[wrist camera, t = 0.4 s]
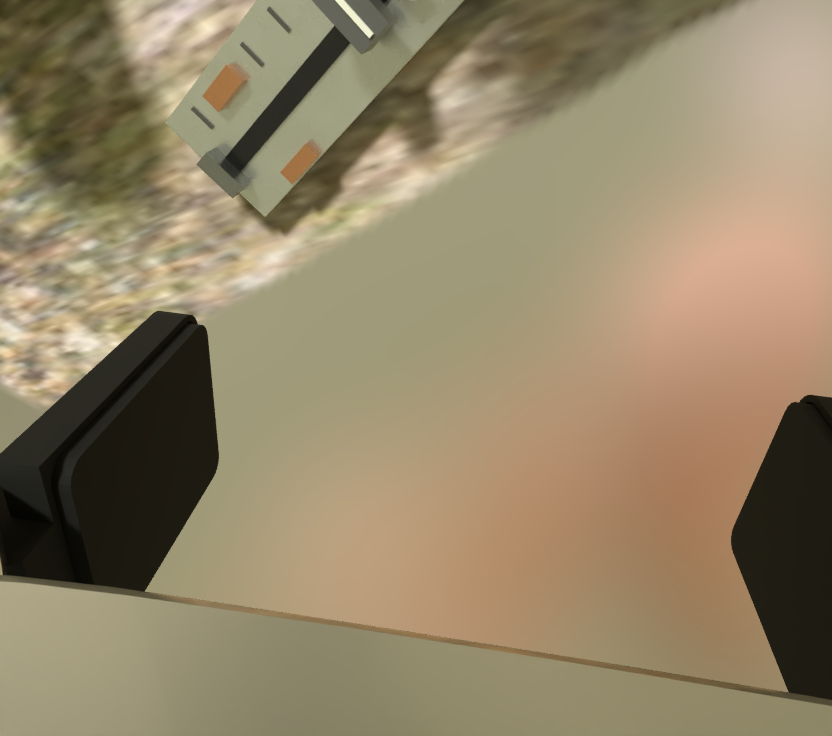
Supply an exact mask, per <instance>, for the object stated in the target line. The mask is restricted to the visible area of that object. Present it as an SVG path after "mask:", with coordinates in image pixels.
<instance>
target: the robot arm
mask: <svg viewBox="0 0 832 736" xmlns="http://www.w3.org/2000/svg"><path fill="white" fill-rule="evenodd" d="M218 459H219V452H218V440H217V431H216V419H215V409H214V398H213V388H212V377H211V366H210V355H209V345H208V335H207V330H206V328H205V326H203V325H198V324H197V321H196V319H195V317H194V316H193V315H187V314H179V313H172V312H164V311H156V312H155V313H153V314H152V315H151V316H150V317H149V318H148V319H147V320H145V321H144V322H143V323H142V324H141V325H140V326H139V327H138V328H137V329H136V330H135V331H133V332H132V333H131V334H130V335H129V336H128V337H127V338H126V339H125V340H124V341H123V342H121V343H120V344H119V345H118V346H117V347H116V348H115V349H114V350H113V351H112V352H111V353H109V354H108V355H107V356H106V357H105V358H104V359H103V360H102V361H101V362H100V363H99V364H98V365H96V366H95V367H94V368H93V369H92V370H91V371H90V372H89V373H88V374H87V375H86V376H84V377H83V378H82V379H81V380H80V381H79V382H78V383H77V384H76V385H75V386H74V387H72V388H71V389H70V390H69V391H68V392H67V393H66V394H65V395H64V396H63V397H62V398H60V399H59V400H58V401H57V402H56V403H55V404H54V405H53V406H52V407H51V408H50V409H48V410H47V411H46V412H45V413H44V414H43V415H42V416H41V417H40V418H39V419H38V420H36V421H35V422H34V423H33V424H32V425H31V426H30V427H29V428H28V429H27V430H26V431H25V432H23V433H22V434H21V435H20V436H19V437H18V438H17V439H16V440H15V441H14V442H13V443H11V444H10V445H9V446H8V447H7V448H6V449H5V450H4V451H3V452H2V453H0V736H832V398H830V397H822V396H814V395H807V396H805V397H804V398H803V399H802V400H800V402H799V403H797V402H794V403H791V404H790V405H789V406H788V407H787V409H786V411H785V413H784V415H783V417H782V420H781V422H780V424H779V426H778V429H777V431H776V433H775V436H774V438H773V440H772V442H771V444H770V447H769V449H768V451H767V453H766V456H765V458H764V460H763V462H762V464H761V467H760V469H759V471H758V473H757V476H756V478H755V480H754V482H753V485H752V487H751V489H750V491H749V494H748V496H747V499H746V500H745V503H744V505H743V507H742V509H741V512H740V514H739V516H738V518H737V521H736V523H735V525H734V528H733V531H732V536H731V545H732V550H733V553H734V555H735V558H736V561H737V563H738V566H739V569H740V571H741V574H742V576H743V579H744V581H745V584H746V586H747V589H748V591H749V594H750V596H751V599H752V601H753V604H754V606H755V609H756V611H757V614H758V616H759V619H760V621H761V624H762V626H763V629H764V631H765V634H766V636H767V639H768V641H769V644H770V647H771V649H772V652H773V654H774V657H775V659H776V662H777V664H778V666H779V669H780V672H781V674H782V677H783V679H784V682H785V684H786V687H787V689H788V692H789V693H788V692H782V691H776V690H769V689H763V688H757V687H751V686H745V685H739V684H732V683H726V682H720V681H714V680H708V679H702V678H695V677H690V676H683V675H678V674H671V673H665V672H659V671H653V670H647V669H641V668H635V667H629V666H622V665H615V664H610V663H604V662H597V661H591V660H585V659H579V658H572V657H566V656H560V655H554V654H547V653H541V652H534V651H528V650H522V649H516V648H510V647H503V646H497V645H491V644H484V643H478V642H471V641H465V640H458V639H452V638H446V637H440V636H433V635H427V634H420V633H413V632H408V631H401V630H395V629H389V628H382V627H375V626H369V625H362V624H356V623H350V622H343V621H336V620H330V619H323V618H316V617H310V616H303V615H297V614H290V613H283V612H277V611H270V610H264V609H257V608H251V607H244V606H238V605H230V604H224V603H218V602H211V601H205V600H198V599H192V598H185V597H178V596H170V595H163V594H157V593H150V592H145V590H146V588H147V586H148V585H149V583H150V581H151V580H152V578H153V577H154V574H155V573H156V572H157V570H158V568H159V567H160V565H161V563H162V562H163V560H164V558H165V557H166V555H167V553H168V552H169V550H170V548H171V547H172V545H173V543H174V542H175V540H176V538H177V537H178V535H179V534H180V532H181V530H182V529H183V527H184V525H185V524H186V522H187V520H188V519H189V517H190V515H191V513H192V512H193V510H194V508H195V507H196V505H197V503H198V502H199V500H200V499H201V497H202V495H203V494H204V492H205V490H206V489H207V487H208V485H209V484H210V482H211V480H212V479H213V477H214V475H215V473H216V470H217V466H218Z"/></svg>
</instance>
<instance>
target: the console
mask: <svg viewBox="0 0 832 736" xmlns="http://www.w3.org/2000/svg"><path fill="white" fill-rule="evenodd" d="M381 1H382V2H383V3H384V5H385V6H386V7H387V8H388V9H389V10H390V11H391V13H392V14H393V15H394V16H395V17H396V18H397V19H398V20H397V22H396V23H395V24H394V25H393V26H392V27H391V28H390V30H389V31H388V32H387V33H386V34H385V35H384V36H383V38H382V39H381V40H380V41H379V42H378V43H377V44H376V46H375V47H374V48H373V49H372V50H370V51H368V52H366V53H364V54H362V55H361V54H360V53H359V52H358V51H357V50H356V49H355V47H354V46H353V45H352V44H351V43H350V42H349V41H348V40H347V39H346V38H345V36H344V35H343V34H342V33H341V32H340V31H339V30H338V29H337V28H336V27H335V25H334V24H333V23H332V22H331V21H330V20H329V19H328V18H327V17H326V16H325V14H324V13H323V12H322V11H321V10H320V9H319V8H318V7H317V6H316V5H315V3H314V2H313V1H312V0H257V1H256V2H255V3H254V5H253V6H252V7H251V9H250V10H249V11H248V13H247V14H246V15H245V17H244V18H243V19H242V21H241V22H240V23H239V25H238V26H237V27H236V29H235V30H234V31H233V33H232V34H231V35H230V37H229V38H228V39H227V41H226V42H225V44H224V45H223V46H222V48H221V49H220V50H219V52H218V53H217V54H216V56H215V57H214V58H213V60H212V61H211V62H210V64H209V65H208V66H207V68H206V69H205V70H204V72H203V73H202V74H201V76H200V77H199V78H198V80H197V81H196V82H195V84H194V85H193V86H192V88H191V89H190V90H189V92H188V93H187V94H186V96H185V97H184V98H183V100H182V101H181V102H180V104H179V105H178V106H177V108H176V109H175V110H174V112H173V113H172V114H171V116H170V117H169V118H168V120H167V121H166V122H165V123H166V124H167V125H168V126H169V127H170V128H171V129H172V130H173V131H174V132H175V133H176V134H178V135H179V136H180V137H181V138H182V139H183V140H184V141H185V142H186V143H187V144H188V145H189V146H190V147H191V148H192V149H193V150H194V151H196V152H197V153H198V154H199V155H200V156H201V157H202V158H201V160H200V161H199V162H198V163H197V165H198V166H199V167H200V168H201V169H202V170H203V171H204V172H205V173H206V174H207V175H208V176H209V177H210V178H212V179H213V180H214V181H215V182H216V183H217V184H218V185H219V186H220V187H221V188H222V189H223V190H224V191H225V192H226V193H227V194H229V195H230V196H231V197H232V198H234V197H235V196H236V195H238V194H239V193H240V194H241V195H242V196H243V197H244V198H245V199H246V200H247V201H248V202H249V203H250V204H252V205H253V206H254V207H255V208H256V209H257V210H258V211H259V212H260V213H261V214H262V215H263V216H264V217H266V216H267V215H268V214H269V213H270V212H271V211H272V210H273V209H274V208H275V207H276V206H277V205H278V204H279V203H280V202H281V201H282V199H283V198H284V197H285V196H286V195H287V194H288V193H289V192H290V191H291V190H292V189H293V187H294V186H295V185H296V184H297V183H298V182H299V181H300V180H301V179H302V178H303V177H304V175H305V174H306V173H307V172H308V171H309V170H310V169H311V168H312V167H313V166H314V165H315V163H316V162H317V161H318V160H319V159H320V158H321V157H322V156H323V155H324V154H325V153H326V151H327V150H328V149H329V148H330V147H331V146H332V145H333V144H334V143H335V142H336V141H337V139H338V138H339V137H340V136H341V135H342V134H343V133H344V132H345V131H346V130H347V129H348V127H349V126H350V125H351V124H352V123H353V122H354V121H355V120H356V119H357V118H358V117H359V116H360V114H361V113H362V112H363V111H364V110H365V109H366V108H367V107H368V106H369V105H370V104H371V102H372V101H373V100H374V99H375V98H376V97H377V96H378V95H379V94H380V93H381V92H382V90H383V89H384V88H385V87H386V86H387V85H388V84H389V83H390V82H391V81H392V80H393V78H394V77H395V76H396V75H397V74H398V73H399V72H400V71H401V70H402V69H403V68H404V66H405V65H406V64H407V63H408V62H409V61H410V60H411V59H412V58H413V57H414V56H415V54H416V53H417V52H418V51H419V50H420V49H421V48H422V47H423V46H424V45H425V44H426V43H427V41H428V40H429V39H430V38H431V37H432V36H433V35H434V34H435V33H436V32H437V31H438V29H439V28H440V27H441V26H442V25H443V24H444V23H445V22H446V21H447V20H448V19H449V17H450V16H451V15H452V14H453V13H454V12H455V11H456V10H457V9H458V8H459V7H460V5H461V4H462V3H463V2H464V1H465V0H381Z"/></svg>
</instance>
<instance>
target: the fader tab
mask: <svg viewBox="0 0 832 736" xmlns="http://www.w3.org/2000/svg"><path fill="white" fill-rule="evenodd" d="M312 1H313V2H314V3H315V5H316V6H317V7H318V8H319V9H320V10H321V11H322V12H323V13H324V14H325V16H326V17H327V18H328V19H329V20H330V21H331V22H332V23H333V24H334V25H335V27H336V28H337V29H338V30H339V31H340V32H341V33H342V34H343V35H344V36H345V38H346V39H347V40H348V41H349V42H350V43H351V44H352V45H353V46H354V47H355V49H356V50H357V51H358V52H359V53H360V54H361V55H362V54H364V53H366V52H368V51H370V50H372V49H373V48H374V47H375V46H376V44H377V43H378V42H379V41H380V40H381V39H382V38H383V36H384V35H385V34H386V33H387V32H388V31H389V30H390V28H391V27H392V26H393V25H394V24H395V23H396V22H397V20H398V19H397V18H396V17H395V16H394V15H393V14H392V13H391V11H390V10H389V9H388V8H387V7H386V6H385V5H384V3H383V2H382V1H381V0H312Z"/></svg>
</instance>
